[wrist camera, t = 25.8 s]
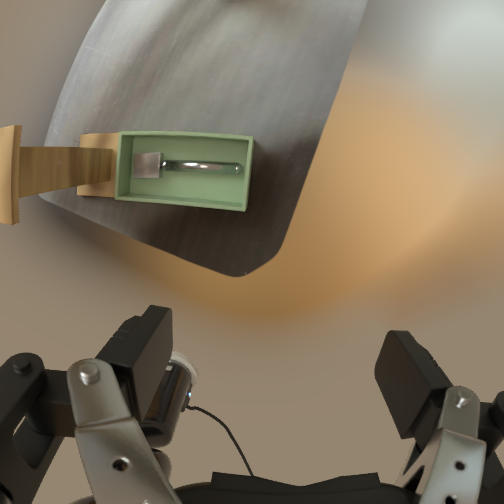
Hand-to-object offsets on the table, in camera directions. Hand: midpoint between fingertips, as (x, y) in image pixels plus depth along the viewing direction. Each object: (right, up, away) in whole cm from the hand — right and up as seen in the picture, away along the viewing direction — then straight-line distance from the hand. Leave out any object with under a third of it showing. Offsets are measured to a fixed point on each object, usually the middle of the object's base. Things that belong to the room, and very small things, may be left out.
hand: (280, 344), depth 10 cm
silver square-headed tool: (-12, +18, +39) cm, 44 cm away
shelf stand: (-29, +20, +39) cm, 53 cm away
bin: (-12, +18, +39) cm, 45 cm away
